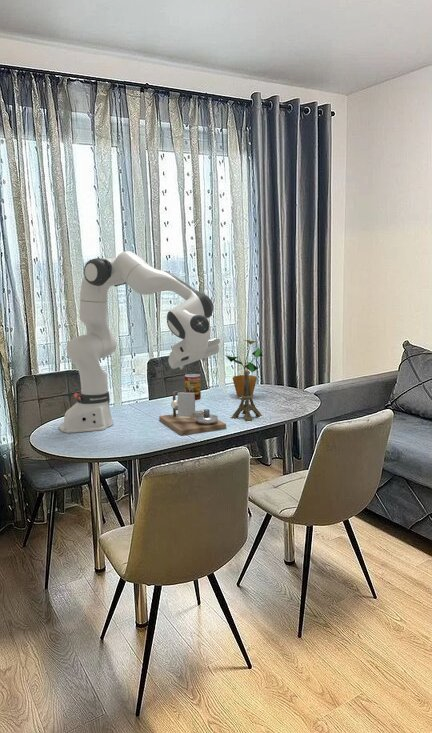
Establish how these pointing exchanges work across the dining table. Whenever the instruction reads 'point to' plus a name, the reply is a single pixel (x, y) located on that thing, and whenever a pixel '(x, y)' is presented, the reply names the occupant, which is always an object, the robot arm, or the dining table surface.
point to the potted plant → (240, 379)
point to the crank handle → (192, 409)
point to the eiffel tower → (246, 401)
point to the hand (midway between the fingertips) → (192, 363)
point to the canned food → (193, 385)
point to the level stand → (188, 422)
